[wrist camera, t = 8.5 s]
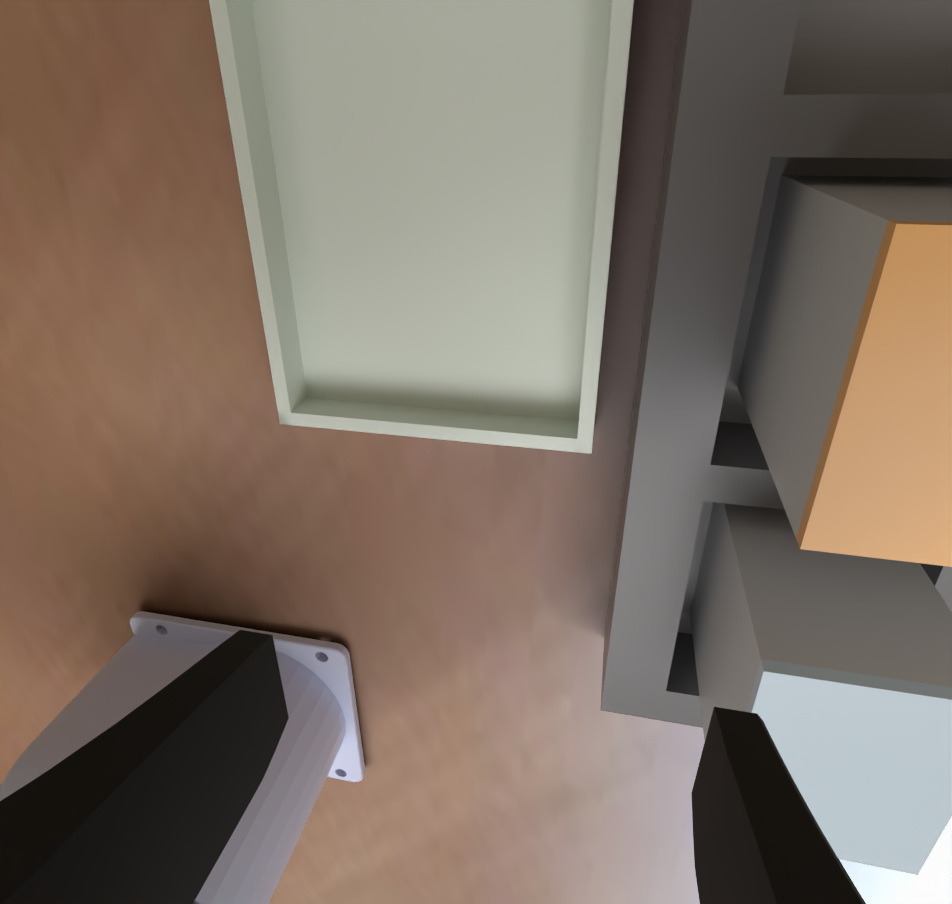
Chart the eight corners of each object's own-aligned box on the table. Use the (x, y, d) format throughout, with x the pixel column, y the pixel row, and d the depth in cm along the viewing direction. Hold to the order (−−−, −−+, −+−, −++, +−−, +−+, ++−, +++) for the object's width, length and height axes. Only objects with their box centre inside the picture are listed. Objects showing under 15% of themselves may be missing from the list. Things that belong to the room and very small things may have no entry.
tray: (304, 402, 20) (280, 424, 18) (233, -89, 14) (190, -111, 13) (594, 427, 18) (591, 453, 17) (645, -119, 12) (647, -147, 11)
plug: (737, 386, 16) (800, 549, 10) (781, 175, 14) (896, 224, 8) (909, 399, 15) (1087, 582, 9) (986, 177, 13) (1289, 234, 7)
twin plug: (689, 615, 20) (715, 834, 14) (718, 479, 18) (763, 671, 12) (827, 634, 19) (917, 874, 13) (875, 494, 17) (1013, 709, 11)
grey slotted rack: (604, 639, 22) (600, 710, 19) (738, -442, 10) (772, -624, 8) (892, 682, 20) (930, 766, 17) (1427, -553, 9) (1763, -833, 6)
